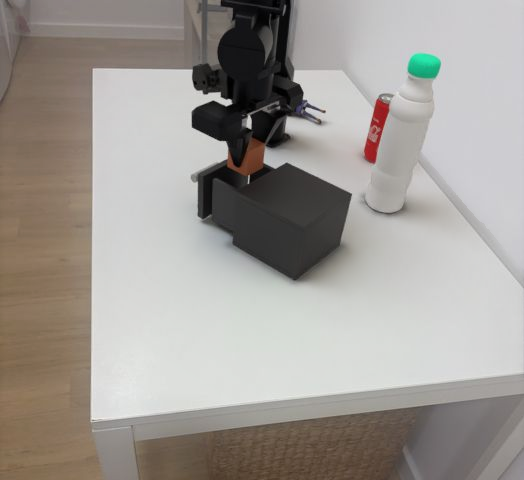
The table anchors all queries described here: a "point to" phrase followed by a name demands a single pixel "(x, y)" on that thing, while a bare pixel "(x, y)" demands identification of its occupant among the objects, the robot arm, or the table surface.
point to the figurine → (302, 111)
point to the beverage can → (377, 126)
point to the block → (250, 158)
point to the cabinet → (289, 219)
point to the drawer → (221, 191)
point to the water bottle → (403, 135)
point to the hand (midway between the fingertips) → (246, 161)
